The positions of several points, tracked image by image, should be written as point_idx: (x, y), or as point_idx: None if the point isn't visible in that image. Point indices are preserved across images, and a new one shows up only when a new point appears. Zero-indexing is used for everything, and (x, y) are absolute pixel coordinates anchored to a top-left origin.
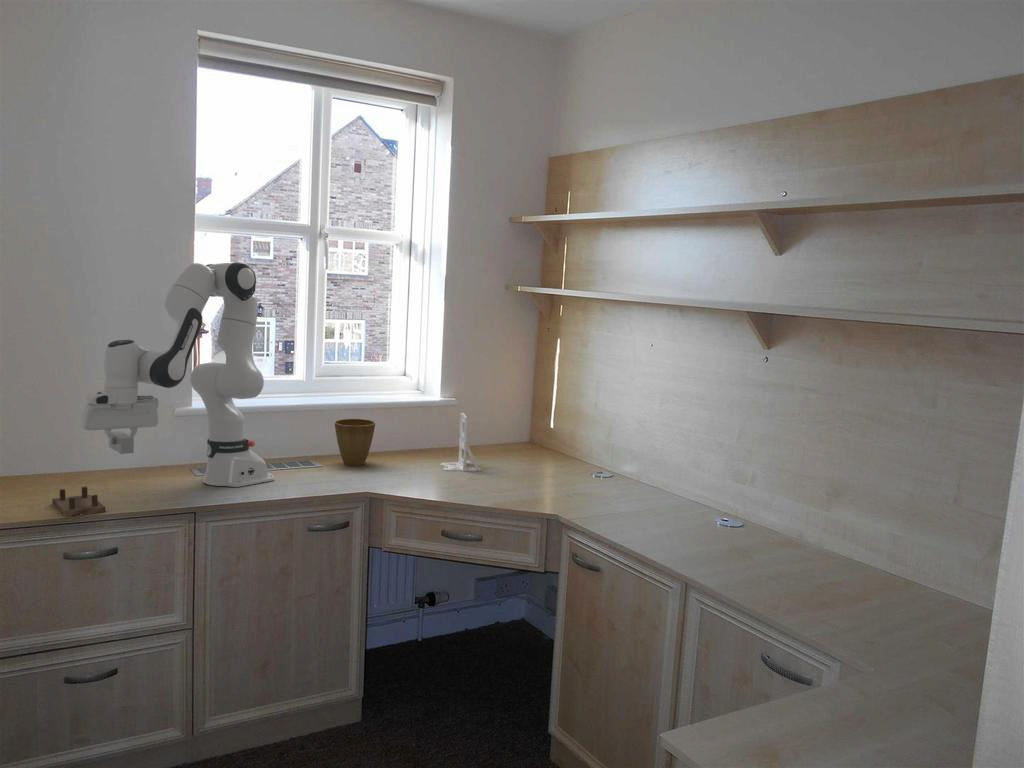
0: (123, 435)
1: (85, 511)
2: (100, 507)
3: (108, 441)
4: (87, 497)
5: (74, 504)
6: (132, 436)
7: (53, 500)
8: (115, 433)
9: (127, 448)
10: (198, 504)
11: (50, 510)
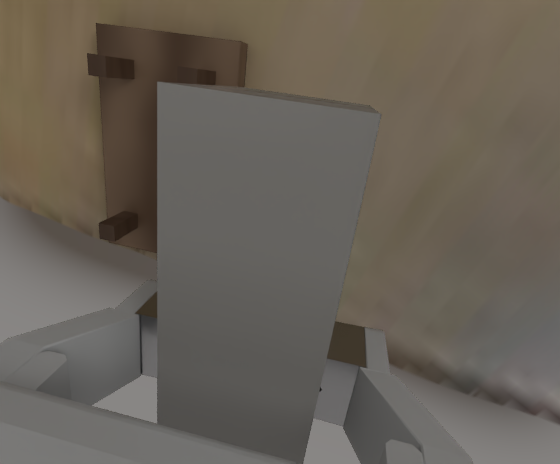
0: (242, 441)
1: None
2: None
3: (140, 286)
4: None
5: (127, 232)
6: (362, 440)
7: (98, 48)
8: (206, 270)
9: None
10: (522, 373)
11: (93, 124)
